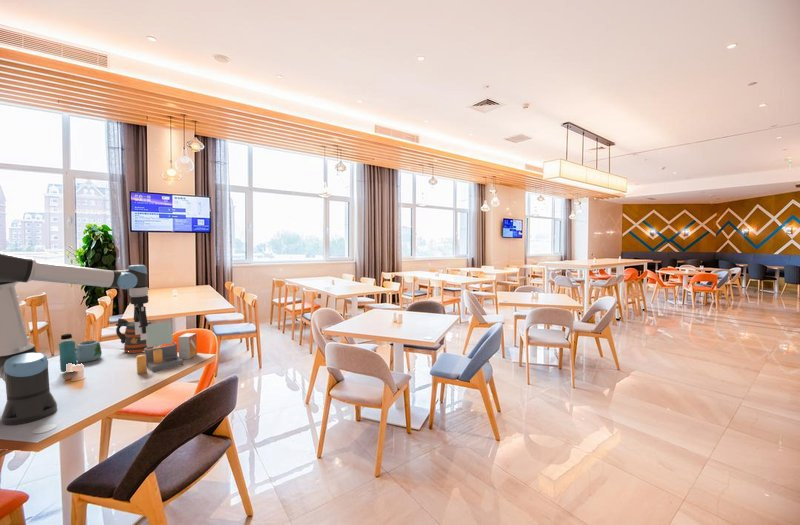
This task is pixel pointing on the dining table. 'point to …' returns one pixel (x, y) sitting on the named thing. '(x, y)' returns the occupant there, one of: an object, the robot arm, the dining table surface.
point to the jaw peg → (141, 364)
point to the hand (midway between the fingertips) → (141, 337)
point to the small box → (187, 345)
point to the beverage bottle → (67, 352)
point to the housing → (162, 357)
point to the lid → (159, 334)
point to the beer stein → (131, 337)
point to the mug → (88, 351)
